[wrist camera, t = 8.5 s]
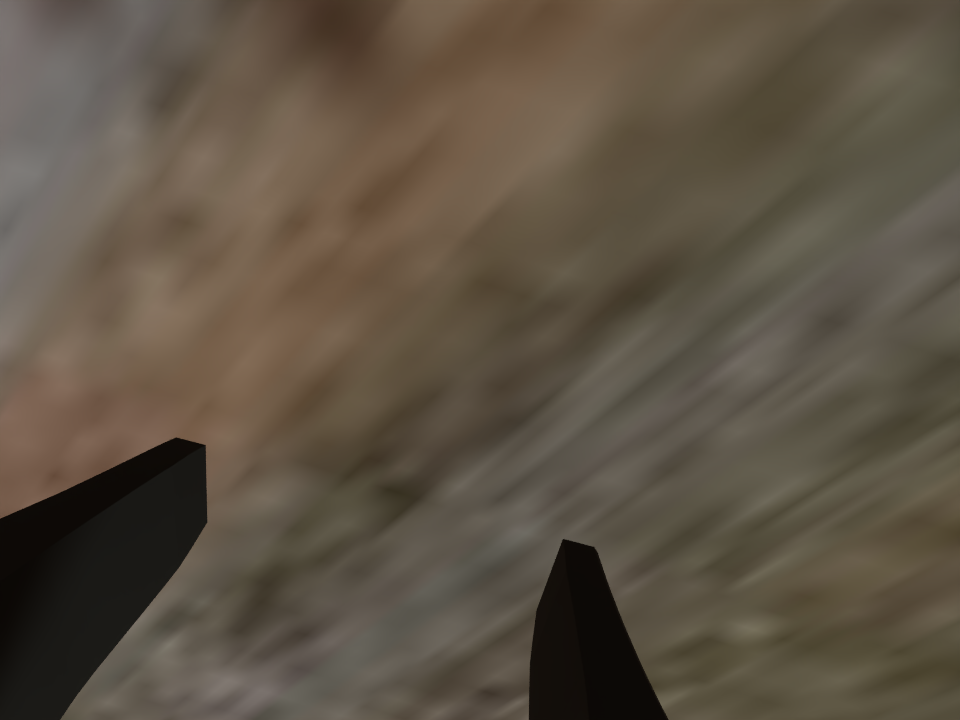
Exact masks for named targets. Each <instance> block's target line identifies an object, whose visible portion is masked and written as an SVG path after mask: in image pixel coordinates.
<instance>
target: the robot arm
mask: <svg viewBox="0 0 960 720" xmlns="http://www.w3.org/2000/svg"><path fill="white" fill-rule="evenodd" d="M206 523H207V490H206V445H203V444H199V443H195V442H192V441H188V440H184V439H180V438H174V439H172V440H169V441H167V442H165V443H163V444H161V445H158V446H156V447H154V448H152V449H150V450H148V451H146V452H144V453H142V454H140V455H138V456H136V457H134V458H132V459H130V460H127V461H125V462H123V463H121V464H119V465H117V466H115V467H113V468H111V469H109V470H107V471H105V472H103V473H101V474H99V475H96V476H94V477H92V478H90V479H88V480H86V481H84V482H82V483H80V484H77V485H75V486H73V487H71V488H69V489H67V490H65V491H63V492H61V493H58V494H56V495H54V496H51V497H49V498H47V499H45V500H42V501H40V502H38V503H35V504H33V505H31V506H28V507H26V508H24V509H22V510H19V511H17V512H15V513H12V514H10V515H8V516H5V517H3V518H1V519H0V720H60V719H61V718H62V716H63V715H64V713H65V712H66V710H67V709H68V707H69V706H70V704H71V703H72V701H73V700H74V699H75V697H76V696H77V694H78V693H79V692H80V690H81V689H82V688H83V686H84V685H85V684H86V682H87V681H88V680H89V679H90V677H91V676H92V675H93V673H94V672H95V671H96V669H97V668H98V667H99V666H100V665H101V663H102V662H103V661H104V660H105V658H106V657H107V656H108V655H109V653H110V652H111V651H112V650H113V649H114V647H115V646H116V645H117V644H118V642H119V641H120V640H121V639H122V638H123V636H124V635H125V634H126V633H127V631H128V630H129V629H130V628H131V627H132V625H133V624H134V623H135V622H136V620H137V619H138V618H139V617H140V615H141V614H142V613H143V612H144V611H145V609H146V608H147V607H148V606H149V604H150V603H151V602H152V601H153V599H154V598H155V597H156V596H157V595H158V593H159V592H160V591H161V590H162V588H163V587H164V586H165V585H166V583H167V582H168V581H169V580H170V578H171V577H172V576H173V574H174V573H175V572H176V571H177V569H178V568H179V567H180V565H181V563H182V562H183V560H184V559H185V557H186V556H187V554H188V553H189V551H190V550H191V548H192V546H193V545H194V543H195V541H196V540H197V538H198V537H199V535H200V533H201V532H202V530H203V528H204V527H205V525H206ZM529 720H668V718H667V716H666V714H665V712H664V710H663V708H662V706H661V704H660V702H659V700H658V698H657V696H656V694H655V692H654V690H653V688H652V686H651V684H650V682H649V680H648V678H647V676H646V674H645V671H644V669H643V667H642V665H641V663H640V661H639V658H638V656H637V654H636V651H635V649H634V647H633V644H632V642H631V640H630V638H629V635H628V633H627V631H626V628H625V626H624V623H623V621H622V619H621V616H620V614H619V611H618V608H617V606H616V603H615V601H614V598H613V595H612V593H611V590H610V587H609V585H608V582H607V579H606V576H605V573H604V570H603V567H602V564H601V561H600V558H599V555H598V553H597V551H596V549H595V548H594V547H592V546H588V545H584V544H581V543H577V542H573V541H569V540H565V539H563V540H562V543H561V546H560V548H559V551H558V554H557V557H556V559H555V562H554V565H553V567H552V570H551V573H550V575H549V578H548V581H547V584H546V586H545V589H544V592H543V594H542V597H541V600H540V602H539V605H538V608H537V611H536V619H535V627H534V634H533V642H532V651H531V659H530V687H529Z"/></svg>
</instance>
